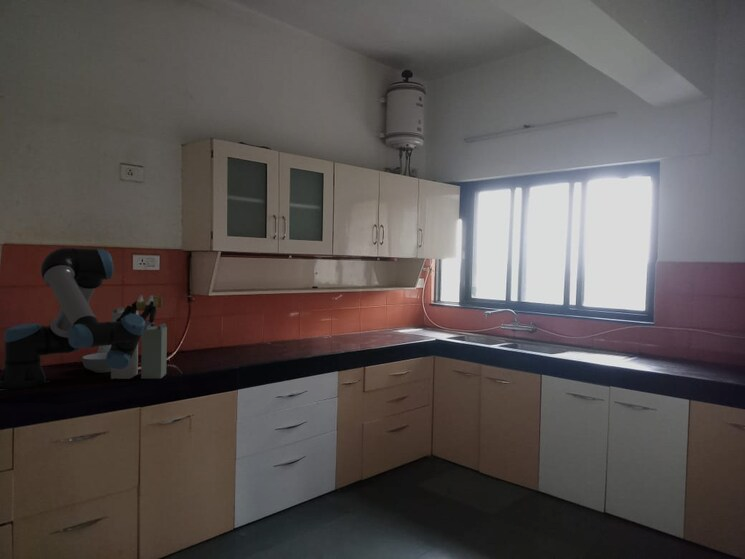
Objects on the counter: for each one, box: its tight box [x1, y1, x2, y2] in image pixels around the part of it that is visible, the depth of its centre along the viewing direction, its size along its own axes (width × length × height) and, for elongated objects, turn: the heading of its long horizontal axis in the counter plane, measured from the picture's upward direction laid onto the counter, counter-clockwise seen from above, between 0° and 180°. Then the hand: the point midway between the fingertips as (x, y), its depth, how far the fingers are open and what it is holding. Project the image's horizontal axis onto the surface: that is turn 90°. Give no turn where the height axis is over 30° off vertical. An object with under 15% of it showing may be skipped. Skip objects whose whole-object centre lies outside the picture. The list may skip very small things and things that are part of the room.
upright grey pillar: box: [140, 322, 168, 380], centre depth 217 cm, size 8×9×22 cm
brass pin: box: [136, 295, 164, 312], centre depth 205 cm, size 4×23×4 cm, turn 8°
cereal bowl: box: [81, 352, 111, 374], centre depth 224 cm, size 17×17×7 cm
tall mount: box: [110, 307, 140, 380], centre depth 215 cm, size 8×9×29 cm
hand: (146, 297), depth 202 cm, fingers closed on brass pin, 3 cm apart
